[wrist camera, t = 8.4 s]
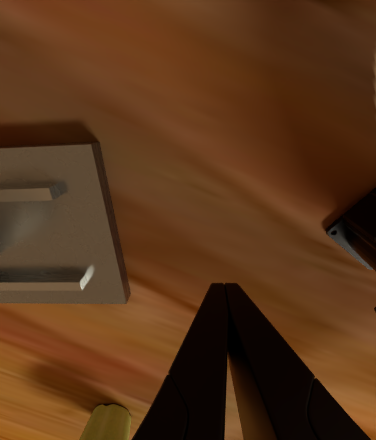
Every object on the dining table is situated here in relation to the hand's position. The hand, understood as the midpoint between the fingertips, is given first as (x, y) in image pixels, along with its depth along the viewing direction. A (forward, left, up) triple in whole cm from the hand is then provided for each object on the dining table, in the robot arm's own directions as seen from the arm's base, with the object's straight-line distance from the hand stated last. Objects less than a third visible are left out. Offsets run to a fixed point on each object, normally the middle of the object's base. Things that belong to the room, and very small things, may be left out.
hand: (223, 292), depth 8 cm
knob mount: (+12, +16, -13) cm, 24 cm away
